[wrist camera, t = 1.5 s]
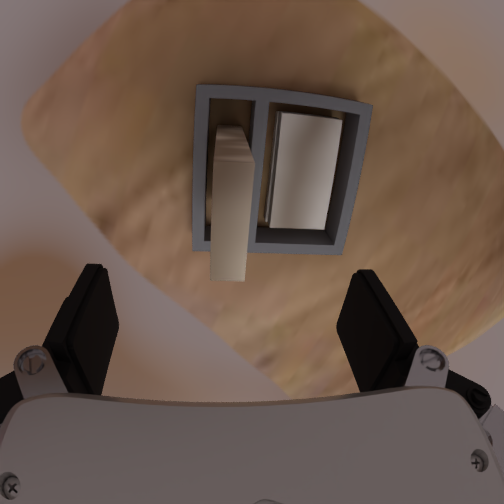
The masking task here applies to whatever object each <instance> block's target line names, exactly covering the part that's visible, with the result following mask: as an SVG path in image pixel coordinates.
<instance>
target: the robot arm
mask: <svg viewBox="0 0 504 504" xmlns="http://www.w3.org/2000/svg"><path fill="white" fill-rule="evenodd" d="M336 328H337V333H338V335H339V338H340V340H341V343H342V346H343V348H344V351H345V353H346V356H347V358H348V361H349V364H350V366H351V369H352V372H353V374H354V377H355V380H356V382H357V385H358V388H359V390H360V393H352V394H345V395H337V396H328V397H318V398H307V399H295V400H281V401H261V402H179V401H178V402H177V401H158V400H145V399H133V398H120V397H110V396H101V394H102V389H103V386H104V381H105V378H106V374H107V370H108V365H109V362H110V358H111V355H112V351H113V347H114V344H115V340H116V337H117V333H118V329H119V322H118V317H117V313H116V308H115V304H114V300H113V295H112V291H111V286H110V281H109V276H108V271H107V269H106V268H103V266H102V265H101V264H86V266H85V268H84V270H83V271H82V273H81V275H80V276H79V278H78V280H77V282H76V284H75V286H74V288H73V289H72V291H71V293H70V295H69V297H67V298H66V299H65V300H64V302H63V304H62V306H61V308H60V310H59V312H58V314H57V316H56V318H55V320H54V322H53V324H52V326H51V328H50V330H49V332H48V334H47V336H46V339H45V341H44V343H43V345H42V346H38V345H35V346H29V347H26V348H25V349H23V350H21V351H20V352H19V353H18V355H17V356H16V358H15V360H14V364H13V365H14V371H13V372H11V373H9V374H7V375H5V376H4V377H1V378H0V504H504V411H503V410H502V409H500V408H499V407H498V406H497V405H496V404H495V405H494V406H492V405H491V398H490V395H489V393H488V391H487V390H486V389H485V388H484V387H482V386H481V385H479V384H477V383H475V382H473V381H471V380H469V379H467V378H465V377H463V376H461V375H459V374H457V373H455V372H453V371H451V370H449V361H448V359H447V357H446V355H445V354H444V353H443V352H442V351H441V350H440V349H438V348H436V347H433V346H429V345H425V346H421V347H419V346H418V344H417V339H416V338H415V336H414V334H413V332H412V331H411V329H410V327H409V326H408V324H407V323H406V321H405V319H404V318H403V316H402V314H401V313H400V311H399V309H398V308H397V306H396V305H395V303H394V302H393V300H392V298H391V297H390V295H389V294H388V292H387V291H386V289H385V287H384V286H383V284H382V283H381V281H380V280H379V278H378V277H377V275H376V274H375V272H374V271H373V270H358V271H357V272H356V273H354V274H353V275H352V278H351V281H350V285H349V288H348V291H347V294H346V297H345V300H344V303H343V306H342V309H341V312H340V315H339V318H338V321H337V326H336Z"/></svg>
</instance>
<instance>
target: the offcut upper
mask: <svg viewBox="0 0 504 504" xmlns="http://www.w3.org/2000/svg"><path fill="white" fill-rule="evenodd" d="M341 127H342V120H341V119H338V118H335V117H328V116H321V115H313V114H305V113H296V112H286V111H279V113H278V124H277V134H276V144H275V154H274V164H273V174H272V183H271V193H270V202H269V212H268V223H269V226H270V228H296V229H324V227H325V222H326V217H327V211H328V206H329V201H330V195H331V190H332V184H333V178H334V172H335V166H336V160H337V154H338V147H339V141H340V134H341Z"/></svg>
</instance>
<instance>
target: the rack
mask: <svg viewBox="0 0 504 504" xmlns="http://www.w3.org/2000/svg"><path fill="white" fill-rule="evenodd" d="M211 98H222V99H241V100H252V108H251V119H250V130H249V142H248V145H249V148H250V151H251V153H252V156H253V159H254V162H255V170H254V181H253V192H252V202H251V213H250V224H249V235H248V247H247V252H248V253H284V254H321V255H342V252H343V248H344V244H345V240H346V236H347V232H348V228H349V224H350V220H351V216H352V211H353V207H354V203H355V198H356V194H357V189H358V184H359V179H360V175H361V170H362V165H363V160H364V154H365V149H366V144H367V138H368V132H369V127H370V121H371V115H372V108H373V105H370V104H366V103H363V102H359V101H354V100H349V99H344V98H338V97H332V96H327V95H320V94H314V93H307V92H300V91H292V90H284V89H275V88H264V87H253V86H238V85H218V84H198V85H196V101H195V122H194V148H193V194H192V246H193V251H210V250H211V226H205V224H206V186H207V159H208V138H209V119H210V102H211ZM269 102H278V103H287V104H295V105H303V106H311V107H318V108H325V109H331V110H337V111H343V112H346V119H345V125H344V131H343V138H342V144H341V150H340V156H339V161H338V167H337V173H336V178H335V184H334V189H333V194H332V199H331V204H330V209H329V214H328V219H327V224H326V229H325V230H310V229H288V228H264V227H257V219H258V209H259V200H260V190H261V180H262V170H263V160H264V151H265V141H266V131H267V121H268V111H269Z"/></svg>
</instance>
